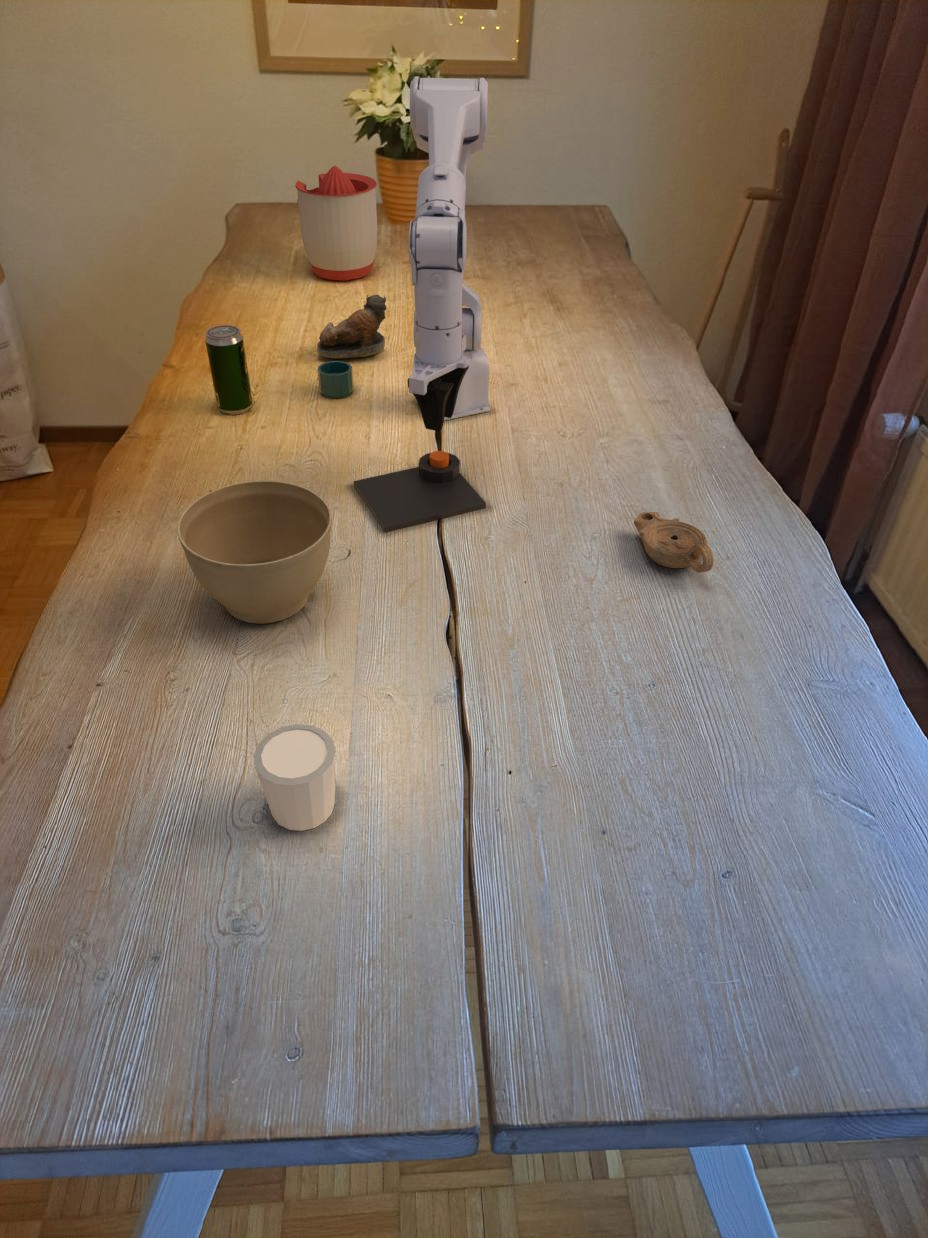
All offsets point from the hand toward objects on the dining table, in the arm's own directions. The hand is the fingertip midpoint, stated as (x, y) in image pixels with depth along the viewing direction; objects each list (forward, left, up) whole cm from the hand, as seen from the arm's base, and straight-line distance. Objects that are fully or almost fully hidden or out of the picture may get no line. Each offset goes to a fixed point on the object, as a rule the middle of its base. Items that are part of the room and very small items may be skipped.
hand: (439, 422), depth 119 cm
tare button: (0, 0, -6) cm, 6 cm away
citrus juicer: (-14, -82, -9) cm, 84 cm away
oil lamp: (-19, +29, -9) cm, 35 cm away
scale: (+4, +4, -8) cm, 10 cm away
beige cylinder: (+33, +47, -9) cm, 58 cm away
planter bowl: (+28, +17, -9) cm, 34 cm away
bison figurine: (-3, -42, -9) cm, 43 cm away
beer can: (+20, -31, -9) cm, 39 cm away
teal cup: (+4, -30, -8) cm, 32 cm away
